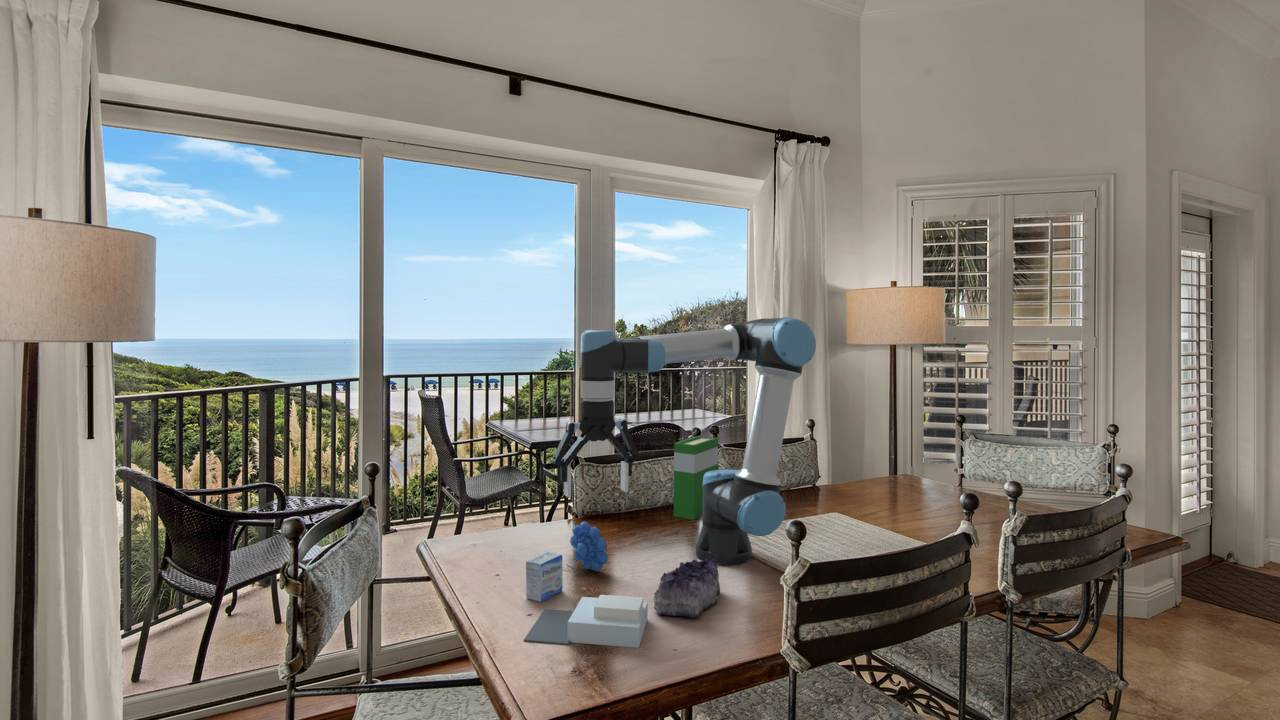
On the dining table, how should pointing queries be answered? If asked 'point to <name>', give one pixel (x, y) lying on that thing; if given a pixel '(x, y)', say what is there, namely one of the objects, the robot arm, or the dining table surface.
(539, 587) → the medicine box
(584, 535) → the grapes
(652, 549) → the dining table surface
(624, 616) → the cream rectangular box
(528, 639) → the mat
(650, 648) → the dining table surface
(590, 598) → the block
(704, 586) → the geode
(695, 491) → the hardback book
